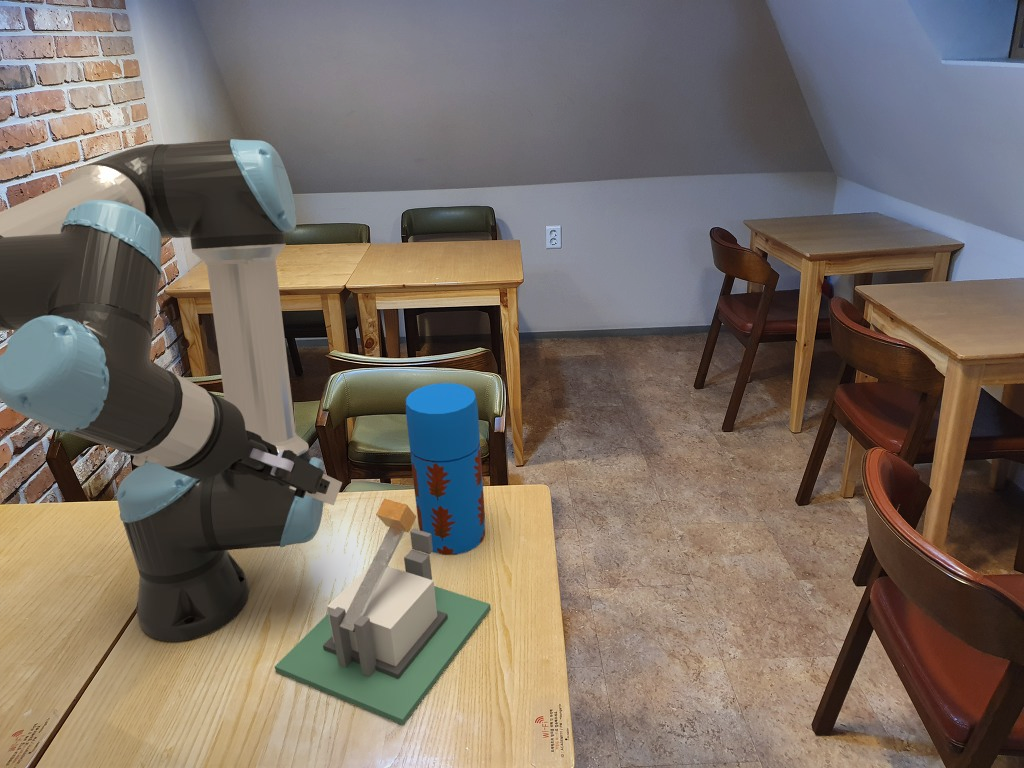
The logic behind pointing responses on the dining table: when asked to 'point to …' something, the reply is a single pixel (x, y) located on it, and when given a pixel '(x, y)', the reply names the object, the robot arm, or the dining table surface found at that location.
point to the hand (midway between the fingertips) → (332, 492)
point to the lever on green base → (388, 639)
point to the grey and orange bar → (380, 557)
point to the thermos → (447, 466)
